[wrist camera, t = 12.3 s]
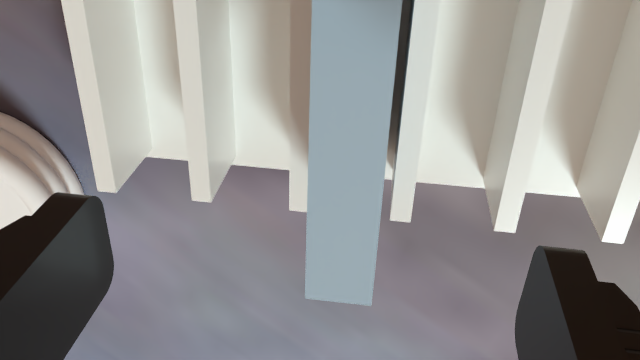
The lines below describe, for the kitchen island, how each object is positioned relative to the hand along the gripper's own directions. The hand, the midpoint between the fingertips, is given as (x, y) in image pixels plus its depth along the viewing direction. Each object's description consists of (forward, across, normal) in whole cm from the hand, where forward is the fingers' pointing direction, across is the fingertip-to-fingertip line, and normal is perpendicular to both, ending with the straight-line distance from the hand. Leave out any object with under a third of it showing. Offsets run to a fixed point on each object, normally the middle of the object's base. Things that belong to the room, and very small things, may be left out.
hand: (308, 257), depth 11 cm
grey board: (+15, 0, 0) cm, 15 cm away
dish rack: (+16, 0, 0) cm, 16 cm away
